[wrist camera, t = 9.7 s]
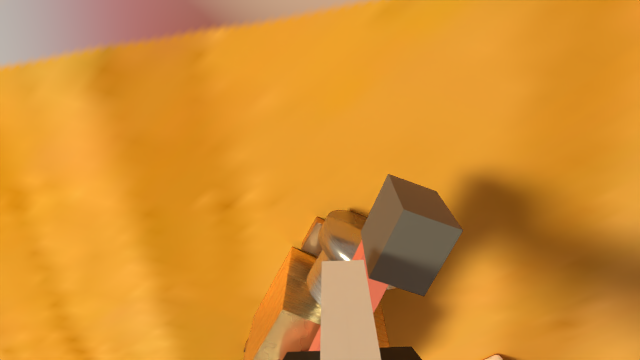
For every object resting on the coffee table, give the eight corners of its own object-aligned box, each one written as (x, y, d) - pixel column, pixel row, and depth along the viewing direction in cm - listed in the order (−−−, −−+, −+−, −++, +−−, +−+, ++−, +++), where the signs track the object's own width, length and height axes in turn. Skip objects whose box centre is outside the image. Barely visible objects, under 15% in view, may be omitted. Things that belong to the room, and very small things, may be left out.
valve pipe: (309, 382, 32) (305, 464, 26) (233, 354, 31) (210, 433, 25) (408, 237, 26) (432, 298, 20) (320, 196, 25) (318, 247, 19)
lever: (329, 406, 23) (330, 482, 19) (268, 389, 23) (257, 464, 19) (448, 191, 18) (482, 237, 14) (370, 163, 17) (383, 202, 13)
